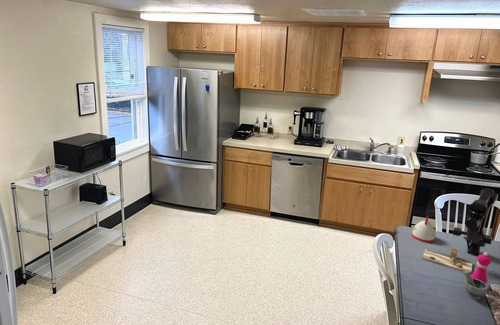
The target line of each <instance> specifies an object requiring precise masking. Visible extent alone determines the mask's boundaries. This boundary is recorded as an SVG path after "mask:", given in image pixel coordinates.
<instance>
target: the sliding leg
mask: <svg viewBox="0 0 500 325" xmlns="http://www.w3.org/2000/svg"><path fill="white" fill-rule="evenodd" d="M450 251H451V252H450V254H449V255H450V259H452V261H451V263H453V260H456V257H458V256H457V254H458V251H459V250H458V248H456V247H451V250H450Z"/></svg>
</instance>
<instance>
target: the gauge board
mask: <svg viewBox="0 0 500 325" xmlns="http://www.w3.org/2000/svg"><path fill="white" fill-rule="evenodd" d="M450 255H451V254H448V253H445V252H441V251H438V250H434V249H430V248H427V247H426V248H425V250H424V252H423V254H422V257H421V259H422V260H425V261H427V262H430V263H433V264H437V265H439V266H440V265H441V266H444V267H446V268H449V269H450V268H451V269H454V270H456V271H460V272H463V273H464V271H470V275H472V272H473V271H472V270H473V260H469V259H465V258H462V257H458V256H456V260H453V263H451V261H452V259H450Z"/></svg>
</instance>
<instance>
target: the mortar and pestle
mask: <svg viewBox="0 0 500 325" xmlns="http://www.w3.org/2000/svg"><path fill="white" fill-rule="evenodd" d="M463 274H464V275H465V278H466V279H465V280H464V287H465V289H466V295H467V296H468V297H469V298H471V299H473V300H480V299H481V298H482V296H483V295H485V294H486V293H487V292H488V289H489V287H488V286H489V285H487V284H488V283H487V284H486V283H484V282H482V281H481V280H478V279H475V278H472V277H471V276H472V274H470V271H464V272H463Z"/></svg>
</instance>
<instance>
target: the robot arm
mask: <svg viewBox="0 0 500 325" xmlns="http://www.w3.org/2000/svg"><path fill="white" fill-rule="evenodd" d="M498 198H499V194H498V193H497V192H495V191H494V190H493V189H490V188H487V187H486V188H483V189H481V190H480V194H479V197H478V198H477V199H475V200H474V201H472V202H471V203H470V205H469V209H468V211H467V216H469V218H468V219H467V220H466V221H465V223H464V225H465V228H466V231H464V230H463V228H461V227H455V226H454V228H453V231H452V235H453V236H456V237H460V236H461V235H463V239H464V240H465V241H466V246H467V251H466V252H467V254H470V255H474V256H477V257H478V256H479V255H480V253H481V248H484V247H486V244H487V245H491V244H492V242H493V237H492V236H491V235H489V234H485V231H484V229H485V225H486V224H487V223H486V222H487V218H488V215H489V213H490V210H491V207H492V206H493V205H495V203H496V202H498Z"/></svg>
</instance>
